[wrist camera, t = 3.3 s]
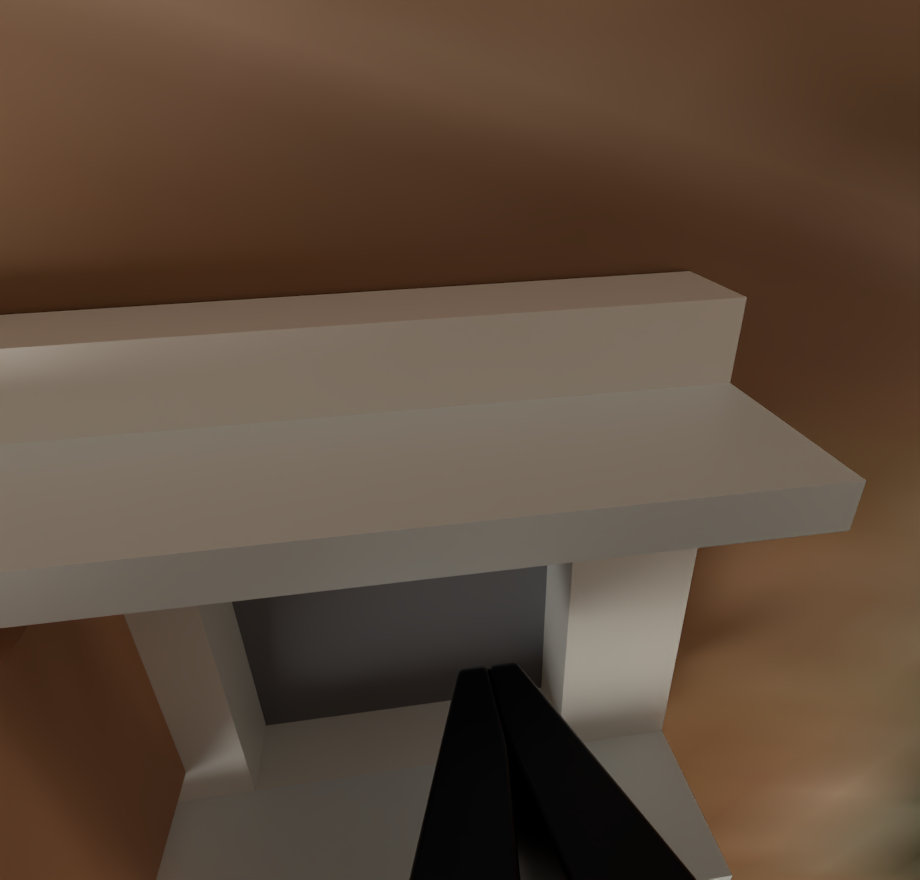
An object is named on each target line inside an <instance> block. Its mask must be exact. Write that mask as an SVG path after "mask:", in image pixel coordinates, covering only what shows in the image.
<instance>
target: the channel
mask: <svg viewBox="0 0 920 880" xmlns="http://www.w3.org/2000/svg"><path fill="white" fill-rule="evenodd" d="M746 299H747V297H745V296H743V295H741V294H739V293H737V292H734V291H732V290H730V289H728V288H726V287H724V286H721V285H719V284H717V283H715V282H713V281H711V280H708V279H706V278H704V277H702V276H700V275H697V274H695V273H693V272H691V271H684V272H669V273H653V274H637V275H621V276H606V277H590V278H574V279H558V280H543V281H527V282H511V283H495V284H480V285H464V286H448V287H432V288H417V289H401V290H385V291H369V292H354V293H338V294H322V295H306V296H291V297H275V298H259V299H243V300H228V301H212V302H196V303H180V304H165V305H149V306H133V307H117V308H102V309H86V310H70V311H54V312H39V313H23V314H7V315H0V628H7V627H16V626H25V625H33V624H42V623H51V622H59V621H68V620H77V619H85V618H94V617H103V616H111V615H120V614H124V617H125V619H126V622H127V624H128V627H129V629H130V632H131V634H132V637H133V640H134V642H135V645H136V647H137V650H138V652H139V655H140V657H141V660H142V662H143V665H144V667H145V670H146V673H147V675H148V678H149V680H150V683H151V685H152V688H153V690H154V693H155V695H156V698H157V700H158V703H159V706H160V708H161V711H162V713H163V716H164V718H165V721H166V723H167V726H168V728H169V731H170V733H171V736H172V738H173V741H174V744H175V746H176V749H177V751H178V754H179V756H180V759H181V761H182V764H183V766H184V769H185V771H186V774H185V778H184V781H183V785H182V788H181V792H180V796H179V799H178V803H177V806H176V810H175V814H174V817H173V821H172V824H171V828H170V832H169V835H168V839H167V842H166V846H165V849H164V853H163V857H162V860H161V864H160V867H159V871H158V875H157V878H156V880H409V878H410V874H411V869H412V865H413V861H414V857H415V852H416V848H417V844H418V840H419V835H420V831H421V827H422V822H423V818H424V814H425V810H426V805H427V801H428V797H429V793H430V788H431V784H432V780H433V776H434V771H435V767H436V763H437V759H438V754H439V750H440V746H441V741H442V737H443V733H444V729H445V724H446V720H447V716H448V712H449V707H450V703H451V699H452V694H453V690H454V686H455V682H456V677H457V674H458V672H459V670H461V669H463V668H471V667H479V666H484V667H486V668H487V669H488V668H489V667H490V666H491V665H494V664H502V663H509V662H514V663H517V664H518V665H519V666H520V667H521V668H522V669H523V670H524V672H525V673H526V674H527V675H528V676H529V678H530V679H531V680H532V681H533V682H534V684H535V685H536V686H537V687H538V688H539V690H540V691H541V692H542V693H543V694H544V696H545V697H546V698H547V699H548V701H549V702H550V703H551V704H552V705H553V707H554V708H555V709H556V710H557V711H558V713H559V714H560V715H561V716H562V717H563V719H564V720H565V721H566V722H567V723H568V725H569V726H570V727H571V728H572V729H573V731H574V732H575V733H576V734H577V736H578V737H579V738H580V739H581V740H582V742H583V743H584V744H585V745H586V746H587V748H588V749H589V750H590V751H591V752H592V754H593V755H594V756H595V757H596V758H597V760H598V761H599V762H600V763H601V765H602V766H603V767H604V768H605V769H606V771H607V772H608V773H609V774H610V775H611V777H612V778H613V779H614V780H615V781H616V783H617V784H618V785H619V786H620V787H621V789H622V790H623V791H624V792H625V793H626V795H627V796H628V797H629V798H630V800H631V801H632V802H633V803H634V804H635V806H636V807H637V808H638V809H639V810H640V812H641V813H642V814H643V815H644V816H645V818H646V819H647V820H648V821H649V822H650V824H651V825H652V826H653V827H654V828H655V830H656V831H657V832H658V833H659V835H660V836H661V837H662V838H663V839H664V841H665V842H666V843H667V844H668V845H669V847H670V848H671V849H672V850H673V851H674V853H675V854H676V855H677V856H678V857H679V859H680V860H681V861H682V862H683V863H684V865H685V866H686V867H687V868H688V870H689V871H690V872H691V873H692V874H693V876H694V877H695V878H696V880H731V878H732V874H731V872H730V870H729V868H728V866H727V864H726V862H725V859H724V857H723V855H722V853H721V851H720V849H719V847H718V845H717V843H716V841H715V839H714V837H713V835H712V833H711V831H710V829H709V827H708V824H707V822H706V820H705V818H704V816H703V814H702V812H701V810H700V808H699V806H698V804H697V802H696V800H695V798H694V796H693V794H692V791H691V789H690V787H689V785H688V783H687V781H686V779H685V777H684V775H683V773H682V771H681V769H680V767H679V765H678V763H677V761H676V758H675V756H674V754H673V752H672V750H671V748H670V746H669V744H668V742H667V740H666V738H665V736H664V734H663V732H662V727H663V722H664V717H665V712H666V707H667V702H668V697H669V692H670V687H671V681H672V676H673V671H674V666H675V661H676V656H677V651H678V646H679V641H680V636H681V631H682V625H683V620H684V615H685V610H686V605H687V600H688V595H689V590H690V585H691V580H692V574H693V569H694V564H695V559H696V554H697V549H698V548H703V547H711V546H720V545H729V544H737V543H746V542H755V541H763V540H772V539H781V538H790V537H798V536H807V535H816V534H824V533H833V532H842V531H849V530H850V527H851V525H852V522H853V519H854V516H855V513H856V510H857V507H858V504H859V501H860V498H861V495H862V492H863V489H864V486H865V483H866V480H865V479H864V478H862V477H861V476H859V475H858V474H857V473H855V472H854V471H852V470H851V469H850V468H848V467H847V466H845V465H844V464H843V463H841V462H840V461H839V460H837V459H836V458H834V457H833V456H832V455H830V454H829V453H827V452H826V451H825V450H823V449H822V448H820V447H819V446H818V445H816V444H815V443H813V442H812V441H811V440H809V439H808V438H806V437H805V436H804V435H802V434H801V433H799V432H798V431H797V430H795V429H794V428H792V427H791V426H790V425H788V424H787V423H786V422H784V421H783V420H781V419H780V418H779V417H777V416H776V415H774V414H773V413H772V412H770V411H769V410H767V409H766V408H765V407H763V406H762V405H760V404H759V403H758V402H756V401H755V400H753V399H752V398H751V397H749V396H748V395H746V394H745V393H744V392H742V391H741V390H739V389H738V388H737V387H735V386H734V385H733V384H731V383H730V381H731V376H732V371H733V366H734V361H735V355H736V350H737V345H738V340H739V335H740V330H741V325H742V320H743V315H744V310H745V305H746Z"/></svg>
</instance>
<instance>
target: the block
mask: <svg viewBox="0 0 920 880" xmlns="http://www.w3.org/2000/svg"><path fill="white" fill-rule="evenodd" d="M185 774H186V771H185V769H184V766H183V764H182V761H181V759H180V756H179V754H178V751H177V749H176V746H175V744H174V741H173V738H172V736H171V733H170V731H169V728H168V726H167V723H166V721H165V718H164V716H163V713H162V711H161V708H160V706H159V703H158V700H157V698H156V695H155V693H154V690H153V688H152V685H151V683H150V680H149V678H148V675H147V673H146V670H145V667H144V665H143V662H142V660H141V657H140V655H139V652H138V650H137V647H136V645H135V642H134V640H133V637H132V634H131V632H130V629H129V627H128V624H127V622H126V619H125V617H124V614H120V615H111V616H103V617H94V618H85V619H77V620H68V621H59V622H51V623H42V624H33V625H25V626H16V627H7V628H0V880H156V878H157V875H158V871H159V867H160V864H161V860H162V857H163V853H164V849H165V846H166V842H167V839H168V835H169V832H170V828H171V824H172V821H173V817H174V814H175V810H176V806H177V803H178V799H179V796H180V792H181V788H182V785H183V781H184V778H185Z"/></svg>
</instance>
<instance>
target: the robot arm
mask: <svg viewBox="0 0 920 880" xmlns="http://www.w3.org/2000/svg"><path fill="white" fill-rule="evenodd" d="M409 880H696V878H695V877H694V876H693V874H692V873H691V872H690V871H689V870H688V868H687V867H686V866H685V865H684V863H683V862H682V861H681V860H680V859H679V857H678V856H677V855H676V854H675V853H674V851H673V850H672V849H671V848H670V847H669V845H668V844H667V843H666V842H665V841H664V839H663V838H662V837H661V836H660V835H659V833H658V832H657V831H656V830H655V828H654V827H653V826H652V825H651V824H650V822H649V821H648V820H647V819H646V818H645V816H644V815H643V814H642V813H641V812H640V810H639V809H638V808H637V807H636V806H635V804H634V803H633V802H632V801H631V800H630V798H629V797H628V796H627V795H626V793H625V792H624V791H623V790H622V789H621V787H620V786H619V785H618V784H617V783H616V781H615V780H614V779H613V778H612V777H611V775H610V774H609V773H608V772H607V771H606V769H605V768H604V767H603V766H602V765H601V763H600V762H599V761H598V760H597V758H596V757H595V756H594V755H593V754H592V752H591V751H590V750H589V749H588V748H587V746H586V745H585V744H584V743H583V742H582V740H581V739H580V738H579V737H578V736H577V734H576V733H575V732H574V731H573V729H572V728H571V727H570V726H569V725H568V723H567V722H566V721H565V720H564V719H563V717H562V716H561V715H560V714H559V713H558V711H557V710H556V709H555V708H554V707H553V705H552V704H551V703H550V702H549V701H548V699H547V698H546V697H545V696H544V694H543V693H542V692H541V691H540V690H539V688H538V687H537V686H536V685H535V684H534V682H533V681H532V680H531V679H530V678H529V676H528V675H527V674H526V673H525V672H524V670H523V669H522V668H521V667H520V666H519V665H518V664H517V663H514V662H509V663H502V664H494V665H491V666H490V667H489V668H488V669H487V668H486V667H484V666H479V667H471V668H463V669H461V670H459V672H458V674H457V677H456V682H455V686H454V690H453V694H452V699H451V703H450V707H449V712H448V716H447V720H446V724H445V729H444V733H443V737H442V741H441V746H440V750H439V754H438V759H437V763H436V767H435V771H434V776H433V780H432V784H431V788H430V793H429V797H428V801H427V805H426V810H425V814H424V818H423V822H422V827H421V831H420V835H419V840H418V844H417V848H416V852H415V857H414V861H413V865H412V869H411V874H410V878H409Z"/></svg>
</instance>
